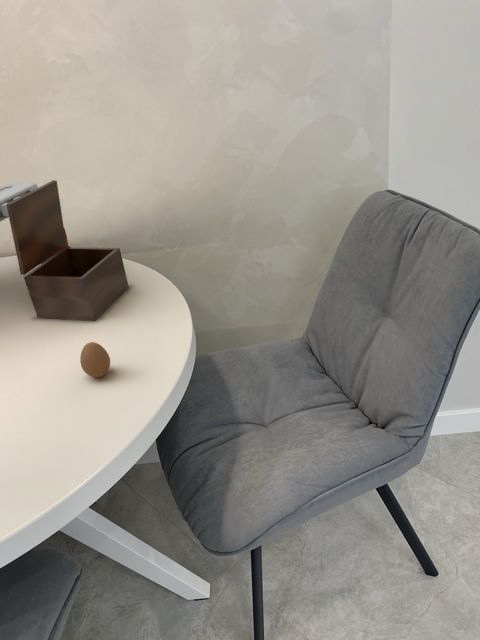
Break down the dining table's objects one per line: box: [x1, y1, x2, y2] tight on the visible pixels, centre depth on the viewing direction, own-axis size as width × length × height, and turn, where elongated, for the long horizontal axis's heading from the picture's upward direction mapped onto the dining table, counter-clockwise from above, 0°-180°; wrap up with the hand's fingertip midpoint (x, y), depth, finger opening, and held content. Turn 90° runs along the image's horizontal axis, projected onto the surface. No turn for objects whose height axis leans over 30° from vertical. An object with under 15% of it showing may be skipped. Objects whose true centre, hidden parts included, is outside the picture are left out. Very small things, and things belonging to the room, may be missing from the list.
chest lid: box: [6, 179, 66, 276], centre depth 104 cm, size 14×15×1 cm
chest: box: [23, 246, 130, 322], centre depth 109 cm, size 13×15×9 cm
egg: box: [79, 341, 111, 378], centre depth 86 cm, size 4×4×6 cm
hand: (31, 206), depth 101 cm, fingers closed
